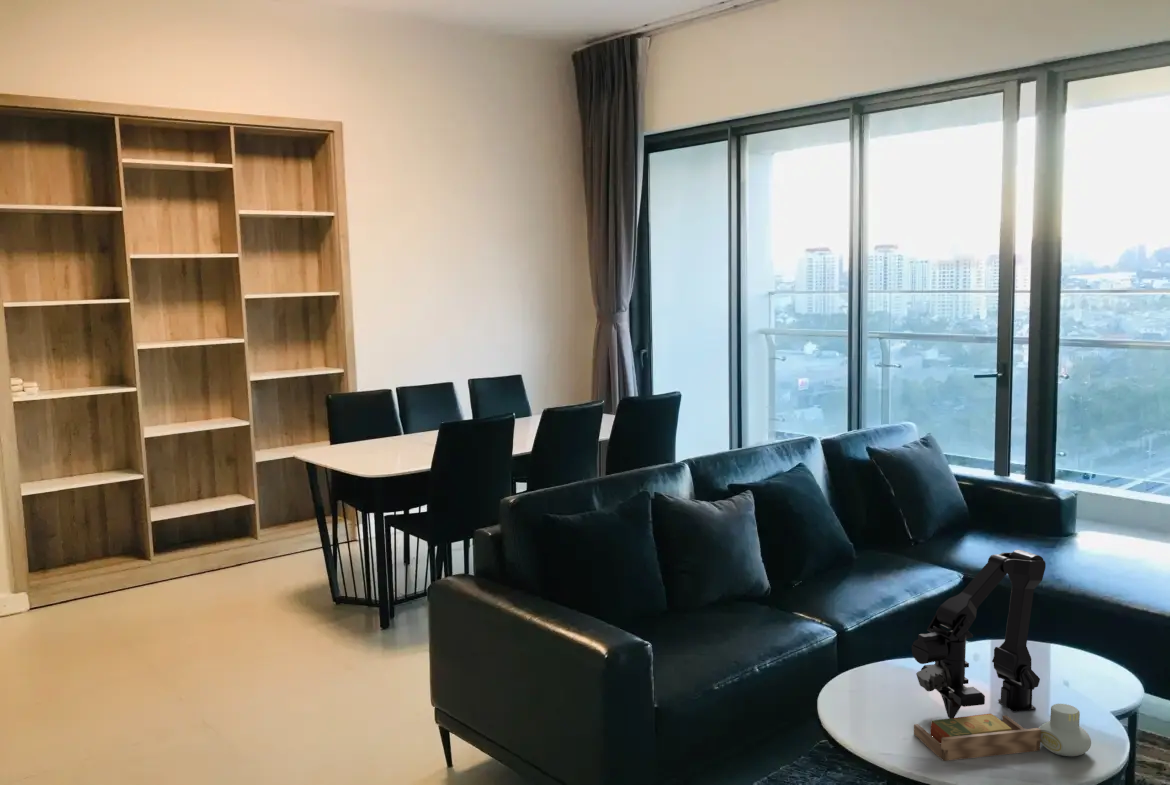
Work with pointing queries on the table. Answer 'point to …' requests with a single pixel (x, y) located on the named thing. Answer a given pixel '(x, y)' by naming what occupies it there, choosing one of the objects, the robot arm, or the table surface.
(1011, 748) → the frame
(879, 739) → the table surface
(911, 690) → the table surface
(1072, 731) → the air freshener
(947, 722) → the carton
